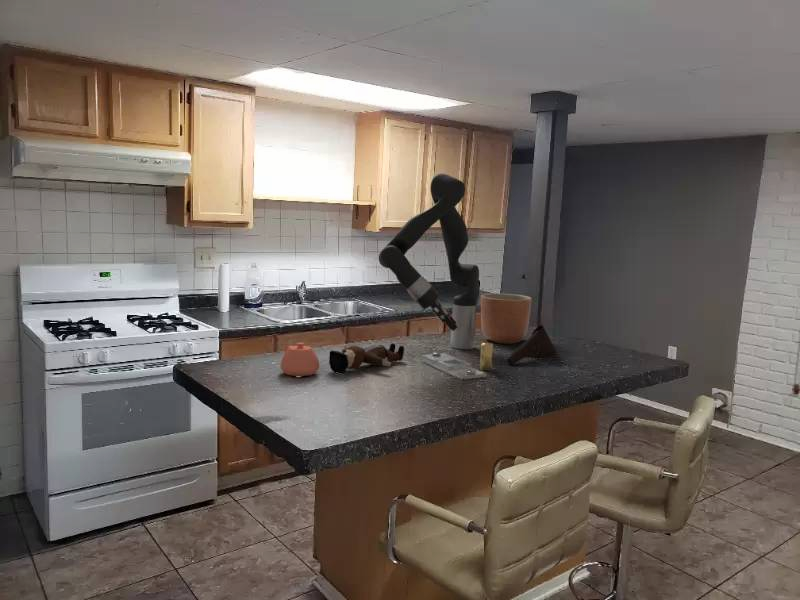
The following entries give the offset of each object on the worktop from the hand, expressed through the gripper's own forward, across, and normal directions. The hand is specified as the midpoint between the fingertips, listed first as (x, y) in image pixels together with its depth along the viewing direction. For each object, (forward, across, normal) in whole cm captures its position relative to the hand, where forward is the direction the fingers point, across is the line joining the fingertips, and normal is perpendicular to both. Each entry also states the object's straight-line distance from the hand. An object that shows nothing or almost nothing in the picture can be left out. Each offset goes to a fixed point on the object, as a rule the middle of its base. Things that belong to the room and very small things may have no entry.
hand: (454, 326), depth 217 cm
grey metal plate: (+10, -2, +10) cm, 14 cm away
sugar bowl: (-25, -17, +46) cm, 55 cm away
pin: (+18, 0, +2) cm, 18 cm away
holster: (+32, +18, -11) cm, 38 cm away
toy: (-10, -4, +31) cm, 33 cm away
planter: (+27, +51, -6) cm, 58 cm away
